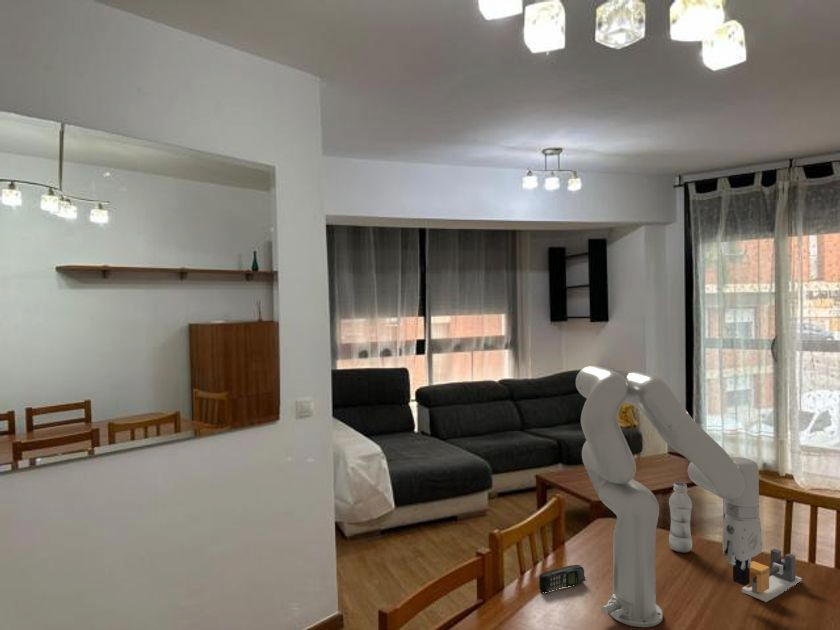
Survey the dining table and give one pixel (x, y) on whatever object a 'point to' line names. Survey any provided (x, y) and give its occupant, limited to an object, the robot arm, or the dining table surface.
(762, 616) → the dining table surface
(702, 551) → the dining table surface
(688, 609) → the dining table surface
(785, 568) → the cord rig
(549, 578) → the mobile phone
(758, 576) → the orange bracket
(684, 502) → the plastic bottle
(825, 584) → the dining table surface
